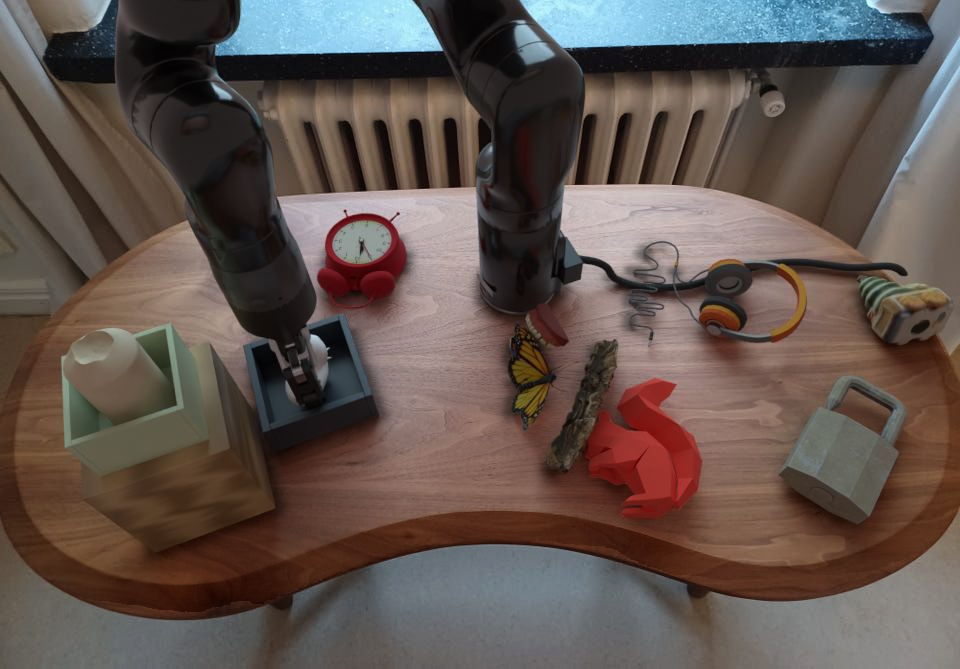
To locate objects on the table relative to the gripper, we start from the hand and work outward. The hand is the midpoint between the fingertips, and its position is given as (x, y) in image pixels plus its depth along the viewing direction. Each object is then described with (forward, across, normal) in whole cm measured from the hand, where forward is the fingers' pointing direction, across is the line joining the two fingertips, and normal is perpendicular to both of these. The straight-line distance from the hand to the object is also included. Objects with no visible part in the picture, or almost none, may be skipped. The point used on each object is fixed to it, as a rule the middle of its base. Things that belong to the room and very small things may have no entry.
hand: (307, 373), depth 73 cm
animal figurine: (+4, -20, -30) cm, 36 cm away
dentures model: (-3, -5, -26) cm, 27 cm away
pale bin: (-10, -6, +13) cm, 18 cm away
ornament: (0, -20, -65) cm, 68 cm away
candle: (-11, -6, +13) cm, 18 cm away
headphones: (+4, -7, -47) cm, 48 cm away
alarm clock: (+4, +15, -10) cm, 18 cm away
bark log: (+4, -15, -27) cm, 31 cm away
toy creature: (+2, 0, 0) cm, 2 cm away
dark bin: (+4, 0, 0) cm, 4 cm away
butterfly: (+2, -10, -25) cm, 27 cm away
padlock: (+2, -32, -43) cm, 54 cm away
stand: (+4, -6, +13) cm, 15 cm away
